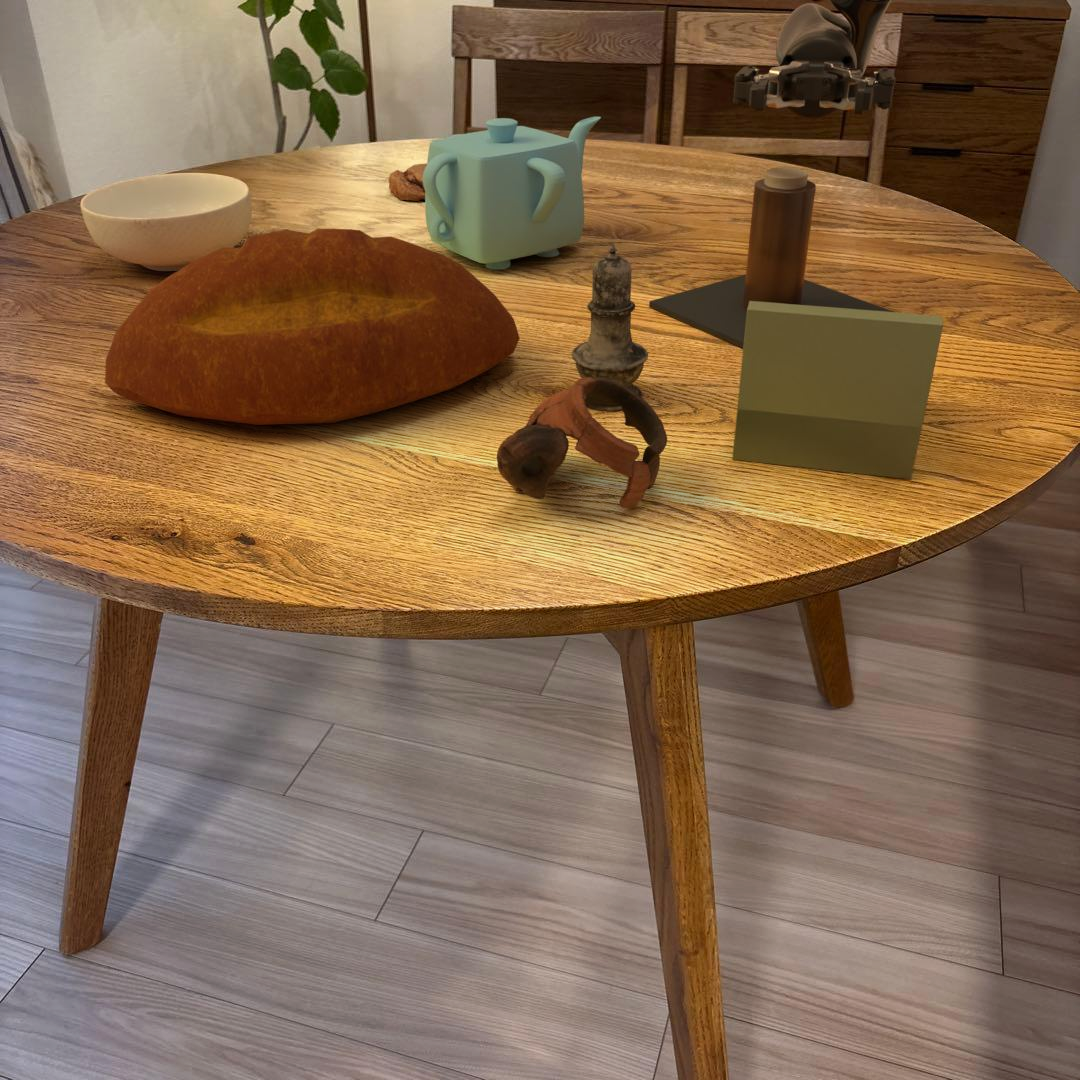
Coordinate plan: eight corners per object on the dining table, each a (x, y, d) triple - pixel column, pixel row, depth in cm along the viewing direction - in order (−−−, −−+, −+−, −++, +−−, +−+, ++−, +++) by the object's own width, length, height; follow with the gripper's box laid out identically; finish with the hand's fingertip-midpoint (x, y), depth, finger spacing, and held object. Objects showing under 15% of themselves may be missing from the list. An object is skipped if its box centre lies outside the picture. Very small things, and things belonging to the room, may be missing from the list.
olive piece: (748, 388, 82) (763, 251, 76) (906, 404, 80) (934, 263, 74) (732, 459, 73) (747, 309, 67) (911, 479, 70) (943, 325, 64)
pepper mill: (771, 292, 99) (785, 162, 92) (812, 308, 95) (830, 173, 89) (731, 304, 96) (743, 171, 90) (771, 321, 93) (787, 183, 86)
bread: (543, 420, 78) (541, 258, 72) (89, 462, 74) (41, 293, 67) (502, 319, 96) (498, 181, 89) (133, 348, 91) (98, 204, 84)
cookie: (468, 202, 128) (467, 177, 127) (383, 203, 129) (381, 178, 127) (474, 181, 137) (473, 158, 135) (394, 182, 137) (392, 158, 135)
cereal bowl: (61, 278, 107) (42, 209, 103) (157, 231, 120) (143, 168, 116) (205, 293, 103) (191, 221, 99) (288, 242, 116) (278, 177, 112)
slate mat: (770, 272, 105) (770, 267, 105) (898, 319, 94) (899, 313, 94) (648, 307, 98) (649, 301, 97) (772, 362, 87) (773, 355, 86)
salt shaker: (558, 389, 83) (557, 239, 76) (621, 374, 85) (626, 228, 78) (594, 418, 78) (597, 262, 72) (660, 402, 81) (669, 249, 74)
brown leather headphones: (559, 442, 76) (618, 358, 71) (638, 537, 73) (706, 456, 68) (440, 463, 67) (498, 369, 63) (525, 573, 64) (593, 482, 59)
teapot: (560, 283, 104) (561, 142, 96) (406, 271, 107) (395, 134, 100) (599, 230, 118) (602, 104, 111) (462, 221, 122) (456, 98, 115)
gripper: (749, 29, 104) (731, 52, 91) (897, 31, 101) (901, 55, 88) (742, 109, 108) (724, 142, 95) (885, 113, 105) (887, 148, 92)
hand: (809, 101), depth 91 cm, fingers open, 8 cm apart
